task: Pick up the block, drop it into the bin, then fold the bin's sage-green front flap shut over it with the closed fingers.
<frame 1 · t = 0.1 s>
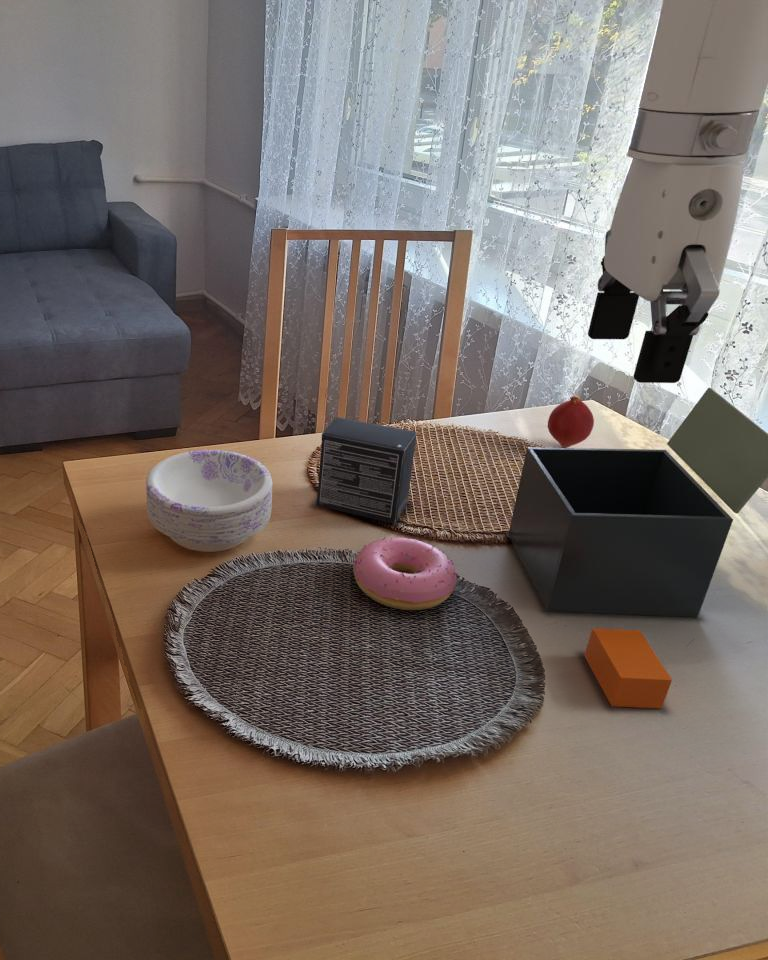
hand: (629, 358, 70), 31 cm above the table, tool pointing down, fingers open, 9 cm apart
small box: (361, 505, 112), on the table
bin: (595, 573, 97), on the table
flap: (722, 447, 88), point 16 cm above the table, hinge at 110.0°
paper bowls: (208, 533, 107), on the table
onion: (564, 447, 124), on the table
doughnut: (401, 588, 96), on the table
block: (621, 681, 82), on the table
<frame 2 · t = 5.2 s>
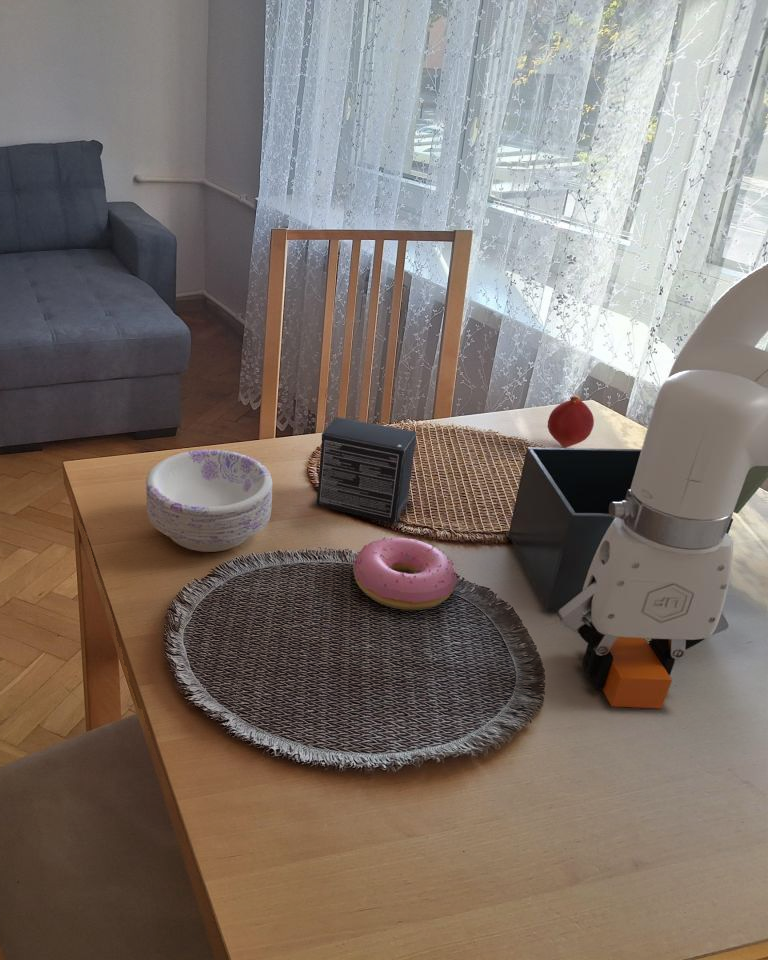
hand: (622, 678, 81), 0 cm above the table, tool pointing down, fingers closed on block, 4 cm apart
block: (621, 681, 82), on the table, touching gripper
everything else where it was.
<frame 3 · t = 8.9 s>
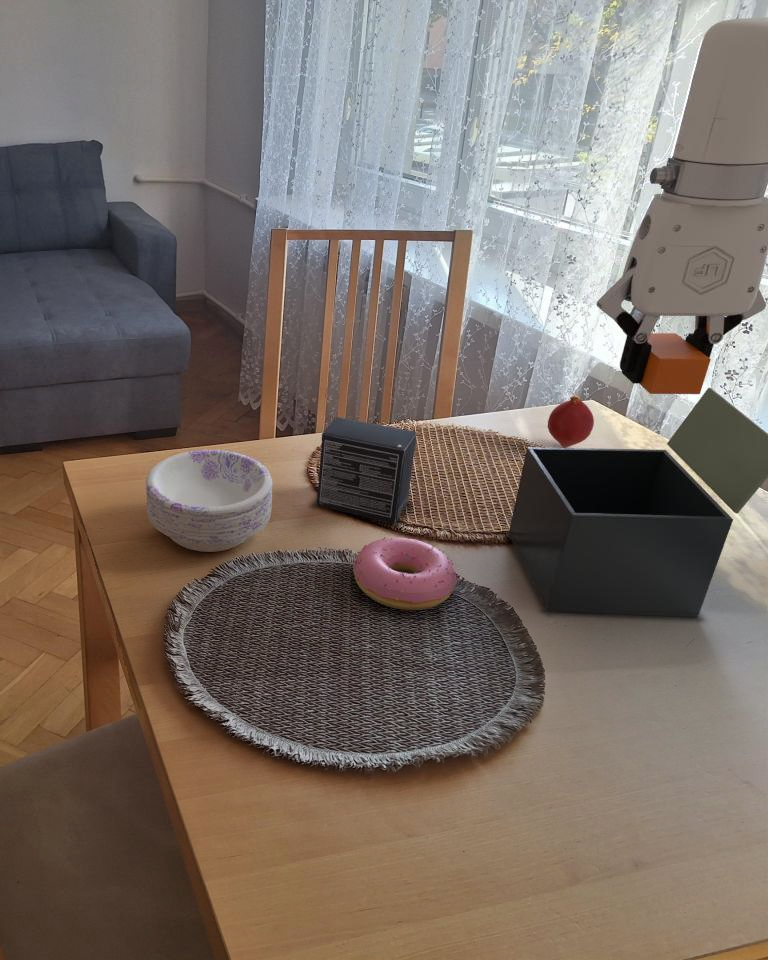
hand: (659, 376, 82), 25 cm above the table, tool pointing down, fingers closed on block, 4 cm apart
block: (658, 379, 83), point 25 cm above the table, touching gripper
everything else where it was.
when the fingers open (10 cm above the table, at t = 12.9 s): block drops 9 cm, resting on bin.
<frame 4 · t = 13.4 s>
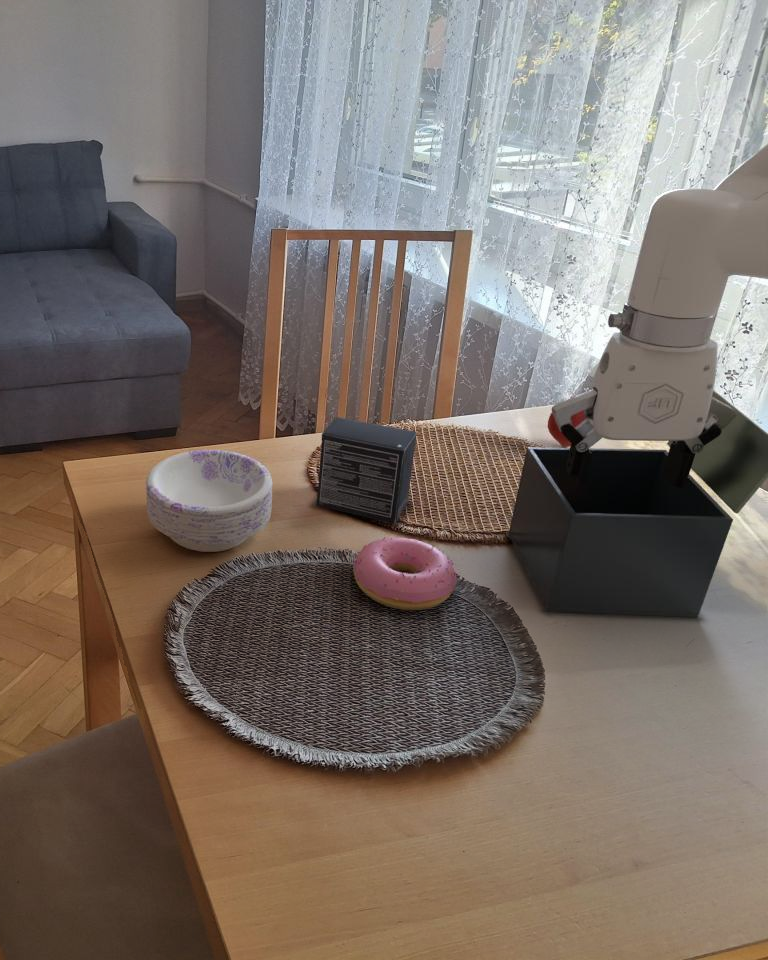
hand: (623, 480, 91), 12 cm above the table, tool pointing down, fingers open, 9 cm apart
block: (597, 569, 96), resting on bin
everything else where it was.
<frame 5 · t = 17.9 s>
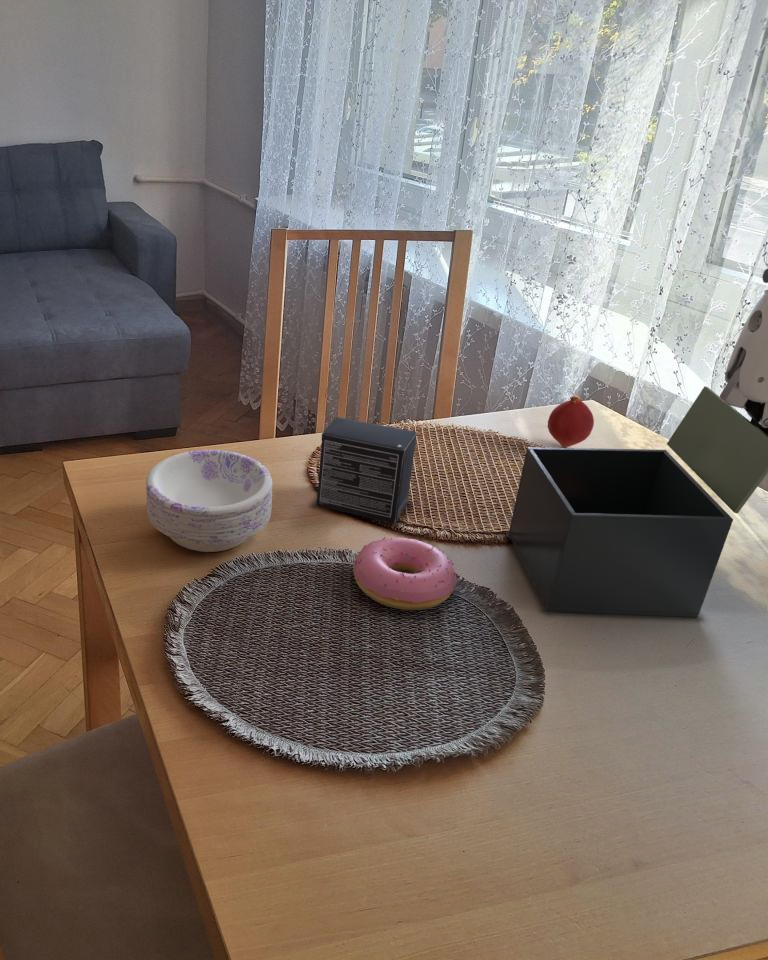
hand: (758, 457, 88), 15 cm above the table, tool pointing down, fingers closed
flap: (720, 446, 88), point 16 cm above the table, hinge at 106.3°, touching gripper
everything else where it was.
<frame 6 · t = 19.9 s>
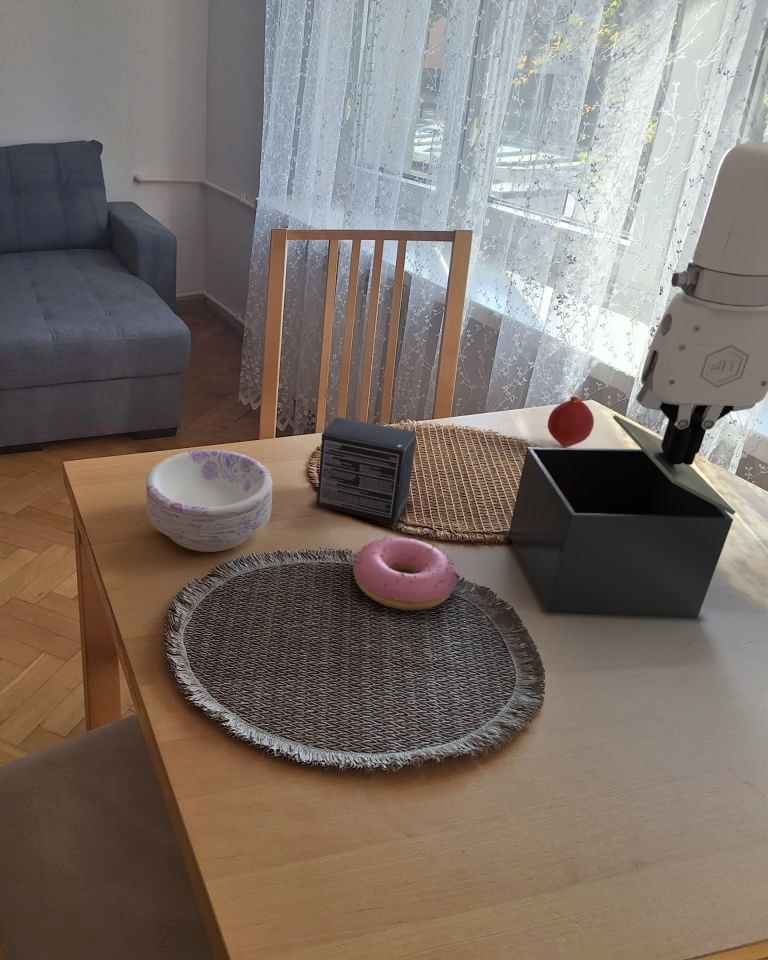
hand: (676, 458, 89), 15 cm above the table, tool pointing down, fingers closed
flap: (670, 461, 89), point 14 cm above the table, hinge at 27.9°
everything else where it was.
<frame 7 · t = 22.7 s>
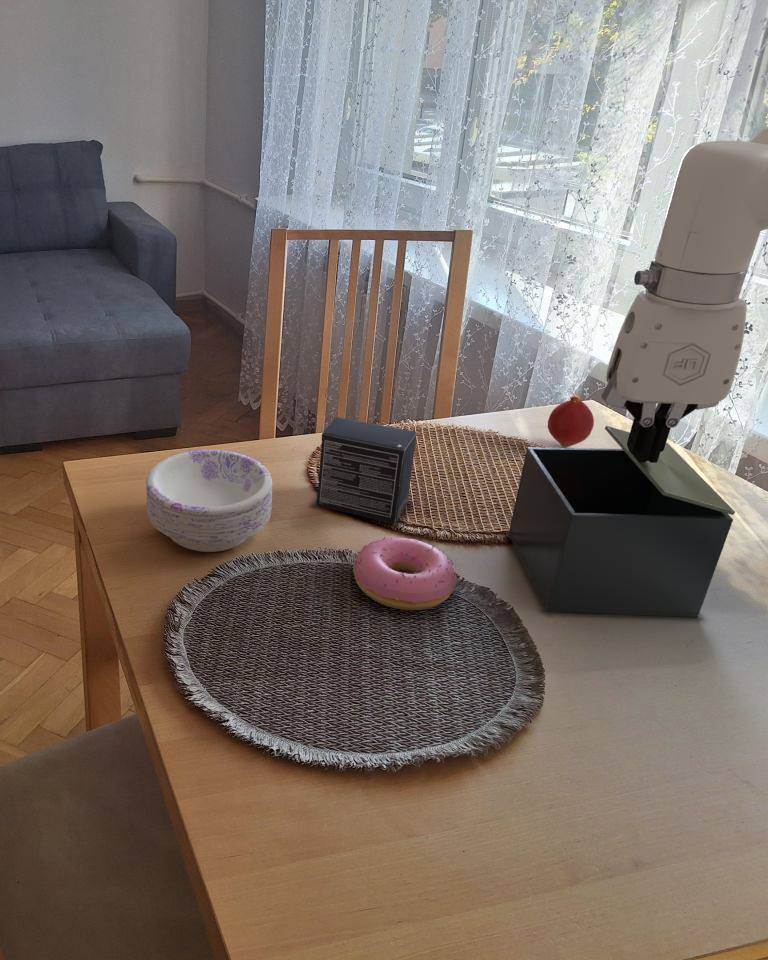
hand: (642, 456, 89), 15 cm above the table, tool pointing down, fingers closed
flap: (665, 467, 90), point 14 cm above the table, hinge at 16.4°, touching gripper
everything else where it was.
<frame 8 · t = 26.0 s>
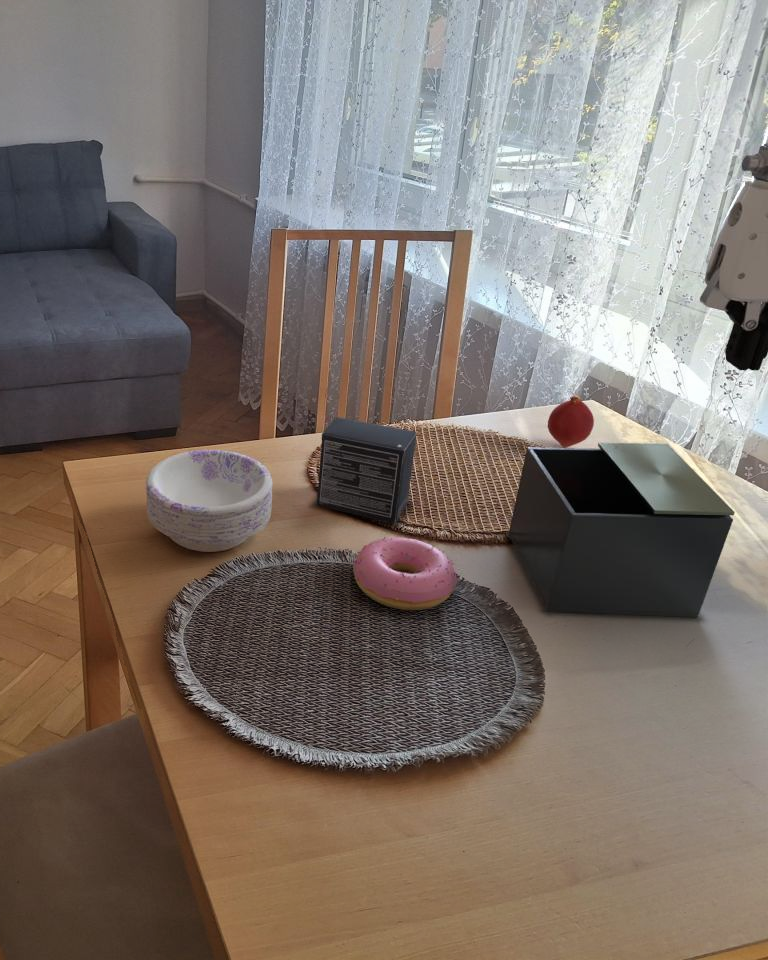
hand: (741, 365, 84), 25 cm above the table, tool pointing down, fingers closed
flap: (661, 476, 90), point 13 cm above the table, hinge at -0.3°
everything else where it was.
at the end: block inside the target area in the bin (0.0 cm from its centre), point 0.5 cm above the bin's base; flap at +0° (first picture: +110°); the gripper is holding nothing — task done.
